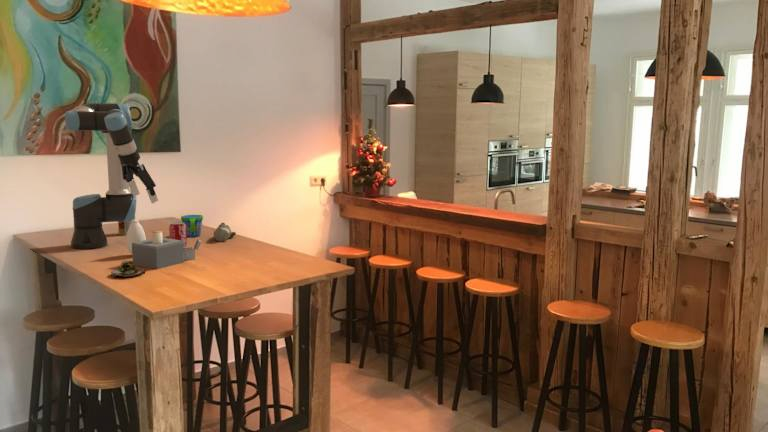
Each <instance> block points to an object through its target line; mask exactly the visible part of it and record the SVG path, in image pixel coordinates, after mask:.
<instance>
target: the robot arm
mask: <svg viewBox="0 0 768 432" xmlns="http://www.w3.org/2000/svg"><path fill="white" fill-rule="evenodd" d="M64 121H65V122H64V123H65V129H66V130H67V131H74V132H79V131H80V132H81V131H83V132H86V131H89V132H91V131H93V132H96V131H97V132H101V134H102V135H103V136H104V137H105V141H106V142H105V143H106V144H105V145H106V159H107V161H106V162H107V177H108V178H107V180H108V190H106V192H105V196H102V195H101V194H100V193H92V194H86V195H79V196H77V197H75V198H73V201H72V212H73V216H72V217H73V229H74V230H73V233H72V236H71V241H70V247H71V248H72V249H76V250H79V249H81V250H85V249H88V250H90V249H98V248H103V247H106V246H107V245H108V238H107V237H106V233H105V231H104V229H103V223H114V222H117V223H118V222H119V221H123V222H124V221H131V220H133V219H134V215H135V216H136V212H137V196H138V195H140V194H141V193H140V191H139V188H138V186H137V184H136V181H135V178H134V176H135V177H138V178H139V180H140V181H141V183H142V184H143V185H144V186H145V190H146V193H147V194H148V198H149V201H150V203H151V204H155V203H156V202H158V201H159V199H158V196H157V194H156V190H155V187H156V186H157V185H156V183H155V181H154V180H153V179H152V177H151V175H150V174H149V171H148V170H147V168H146V166H145V164H143V163H142V164H140V163H139V161H140V159H141V156H140V153H139V149H137V145H136V142H135V139H134V137H133V135H132V132H131V131H132V130H134V127H133V126H134V125H133V119H132V113H131V110H130V107H129V105H127V104H125V103H117V102H116V103H102V102H101V103H98V102H96V103H95V102H90V103H89V102H88V103H85V104H79V105H77V106H75V107H74V108H73V109H72V110H67V111H65V113H64Z"/></svg>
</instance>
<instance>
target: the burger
mask: <svg viewBox="0 0 768 432" xmlns="http://www.w3.org/2000/svg"><path fill="white" fill-rule="evenodd" d="M110 273H111V274H112V275H111V276H110V277H112V278H113V279H116V277H121V278H122V277H123V278H124V277H125V278H126V277H133V276H138V275H141V274H142V273H143V274H146V269H145V268H143V267H136V265H133V259H129V258H127V259H126V258H124V260H123V261H122V262H121V263H120V266H118V268H115V269H113V270H112V271H111V272H110Z"/></svg>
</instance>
